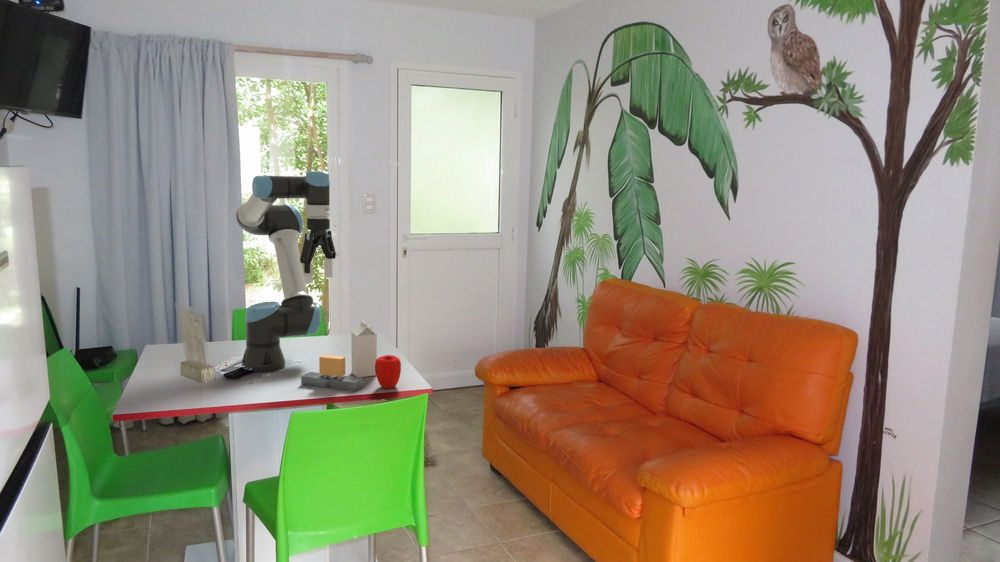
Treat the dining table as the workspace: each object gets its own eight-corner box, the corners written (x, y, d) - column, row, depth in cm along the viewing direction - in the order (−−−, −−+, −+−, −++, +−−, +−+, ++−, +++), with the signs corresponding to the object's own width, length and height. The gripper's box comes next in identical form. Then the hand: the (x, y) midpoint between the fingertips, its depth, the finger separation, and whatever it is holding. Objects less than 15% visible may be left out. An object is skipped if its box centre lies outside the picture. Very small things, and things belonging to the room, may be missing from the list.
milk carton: (357, 378, 249) (357, 325, 247) (351, 372, 256) (351, 321, 253) (376, 375, 253) (376, 323, 250) (370, 370, 259) (370, 319, 256)
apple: (377, 382, 245) (377, 352, 243) (402, 383, 244) (403, 353, 243) (372, 390, 236) (372, 358, 234) (398, 391, 236) (398, 359, 234)
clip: (319, 385, 239) (319, 356, 238) (324, 383, 242) (323, 354, 241) (341, 388, 237) (341, 359, 236) (345, 385, 240) (345, 356, 239)
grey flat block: (301, 385, 239) (301, 376, 239) (310, 380, 245) (310, 371, 245) (355, 391, 235) (355, 382, 234) (363, 386, 240) (363, 377, 240)
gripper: (309, 220, 226) (310, 286, 229) (345, 216, 250) (345, 275, 253) (288, 219, 228) (289, 284, 231) (326, 215, 252) (326, 274, 255)
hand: (318, 280), depth 242 cm, fingers open, 13 cm apart
